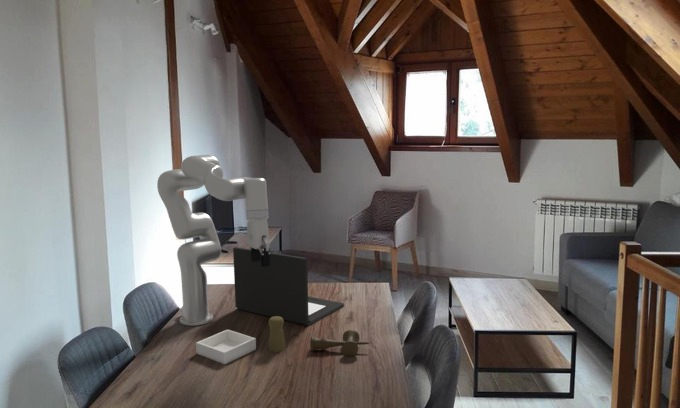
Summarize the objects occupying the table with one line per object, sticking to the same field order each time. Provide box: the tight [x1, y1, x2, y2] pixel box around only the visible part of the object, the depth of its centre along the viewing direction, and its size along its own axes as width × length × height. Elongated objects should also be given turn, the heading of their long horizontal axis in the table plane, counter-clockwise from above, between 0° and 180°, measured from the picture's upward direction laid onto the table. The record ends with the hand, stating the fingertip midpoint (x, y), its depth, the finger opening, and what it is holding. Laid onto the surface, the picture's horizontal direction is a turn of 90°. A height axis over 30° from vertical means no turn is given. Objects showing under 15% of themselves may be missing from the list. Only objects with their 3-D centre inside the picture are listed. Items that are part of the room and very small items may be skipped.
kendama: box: [309, 329, 370, 357], centre depth 180 cm, size 6×10×20 cm
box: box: [195, 329, 257, 365], centre depth 180 cm, size 14×14×4 cm
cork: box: [267, 316, 286, 353], centre depth 182 cm, size 6×6×11 cm
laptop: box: [232, 246, 345, 326], centre depth 220 cm, size 37×27×27 cm
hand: (260, 263), depth 183 cm, fingers open, 9 cm apart
